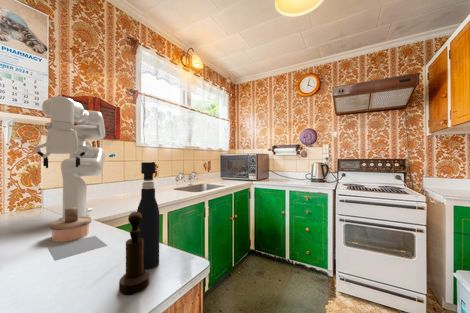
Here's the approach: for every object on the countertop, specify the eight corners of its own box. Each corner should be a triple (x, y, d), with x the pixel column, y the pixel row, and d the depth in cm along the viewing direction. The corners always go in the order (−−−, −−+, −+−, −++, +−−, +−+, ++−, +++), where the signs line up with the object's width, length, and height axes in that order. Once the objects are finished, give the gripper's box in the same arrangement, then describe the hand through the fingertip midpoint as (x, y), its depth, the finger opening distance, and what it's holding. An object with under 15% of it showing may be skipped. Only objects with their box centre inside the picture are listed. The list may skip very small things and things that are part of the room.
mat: (47, 248, 70) (47, 247, 70) (95, 236, 80) (95, 235, 80) (54, 262, 61) (54, 260, 61) (107, 246, 71) (107, 245, 71)
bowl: (70, 231, 86) (70, 219, 86) (94, 232, 85) (95, 220, 85) (44, 242, 75) (44, 228, 75) (71, 243, 74) (72, 229, 74)
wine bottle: (163, 264, 59) (164, 162, 60) (140, 273, 55) (142, 162, 55) (153, 257, 64) (154, 162, 64) (131, 264, 59) (132, 162, 60)
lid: (70, 219, 87) (70, 204, 87) (98, 219, 86) (99, 205, 86) (39, 229, 74) (39, 212, 74) (72, 230, 73) (72, 213, 73)
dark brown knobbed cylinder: (126, 278, 52) (127, 209, 52) (152, 277, 53) (153, 208, 53) (113, 296, 45) (114, 216, 46) (143, 294, 46) (144, 215, 46)
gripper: (33, 123, 76) (32, 169, 77) (89, 128, 88) (88, 167, 88) (34, 125, 82) (34, 167, 82) (86, 129, 94) (86, 166, 94)
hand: (62, 167), depth 85 cm, fingers open, 9 cm apart
